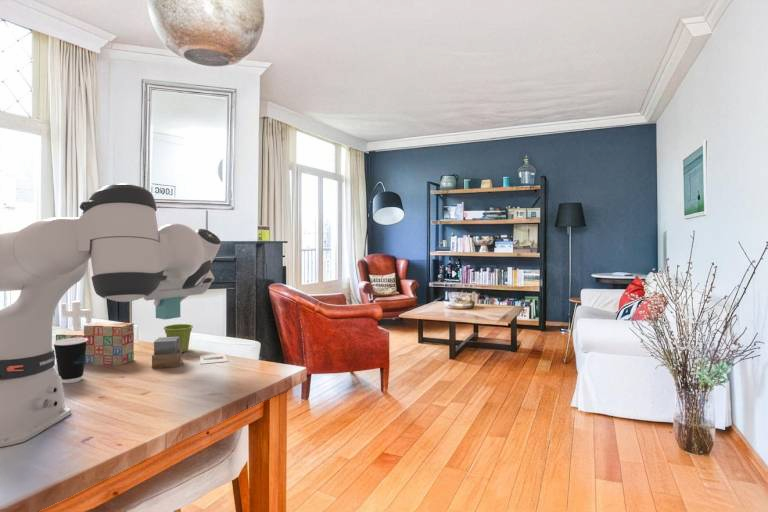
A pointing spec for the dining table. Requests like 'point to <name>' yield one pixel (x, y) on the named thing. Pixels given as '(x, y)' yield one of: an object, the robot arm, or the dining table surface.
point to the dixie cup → (70, 358)
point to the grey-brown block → (166, 352)
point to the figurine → (76, 315)
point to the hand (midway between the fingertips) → (166, 303)
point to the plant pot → (180, 334)
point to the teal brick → (168, 308)
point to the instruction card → (213, 358)
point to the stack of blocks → (106, 342)
